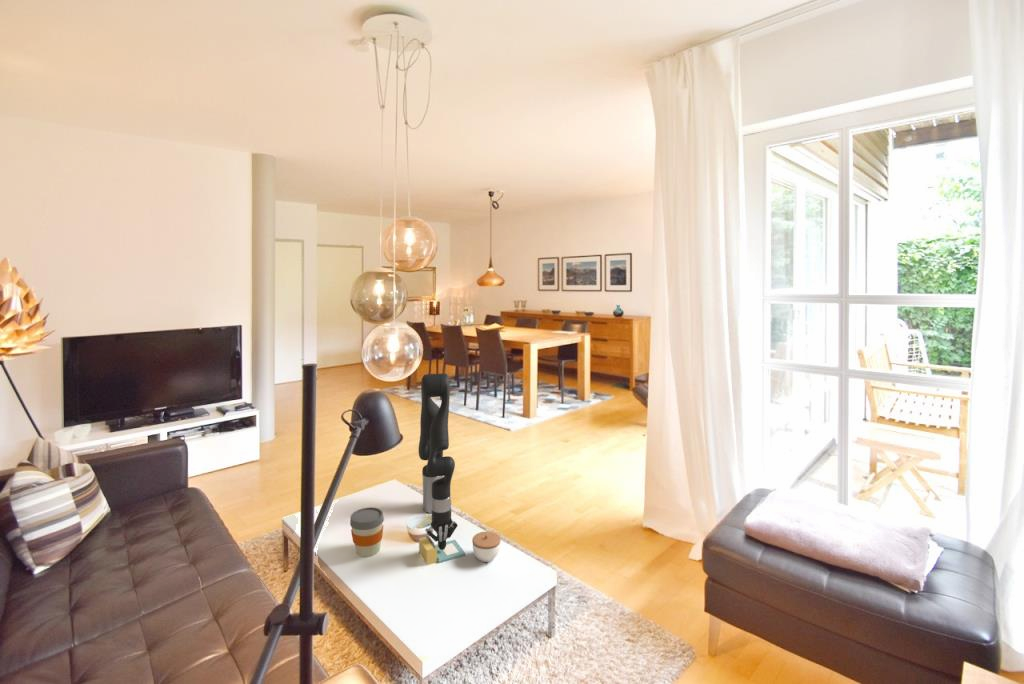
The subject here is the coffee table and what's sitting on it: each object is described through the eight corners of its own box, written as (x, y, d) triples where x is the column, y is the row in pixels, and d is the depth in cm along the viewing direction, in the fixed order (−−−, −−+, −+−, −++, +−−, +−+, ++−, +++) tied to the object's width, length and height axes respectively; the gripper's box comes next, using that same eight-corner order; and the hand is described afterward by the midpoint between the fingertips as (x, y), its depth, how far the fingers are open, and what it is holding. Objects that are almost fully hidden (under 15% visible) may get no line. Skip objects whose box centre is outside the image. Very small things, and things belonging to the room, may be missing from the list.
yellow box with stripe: (419, 552, 190) (419, 538, 189) (429, 550, 192) (428, 535, 191) (427, 565, 182) (426, 549, 181) (437, 562, 184) (436, 546, 183)
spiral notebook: (429, 548, 193) (429, 546, 193) (454, 541, 198) (454, 539, 198) (438, 563, 183) (438, 560, 183) (465, 555, 189) (465, 552, 188)
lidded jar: (500, 549, 193) (500, 527, 191) (500, 565, 182) (500, 542, 181) (473, 549, 193) (473, 527, 191) (471, 566, 182) (471, 542, 181)
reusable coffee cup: (376, 561, 184) (374, 524, 182) (345, 558, 186) (343, 521, 184) (389, 543, 196) (388, 508, 194) (361, 540, 198) (359, 505, 196)
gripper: (453, 499, 193) (454, 539, 196) (421, 506, 187) (422, 548, 189) (461, 507, 187) (461, 548, 189) (428, 515, 180) (429, 558, 183)
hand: (441, 548), depth 189 cm, fingers closed
